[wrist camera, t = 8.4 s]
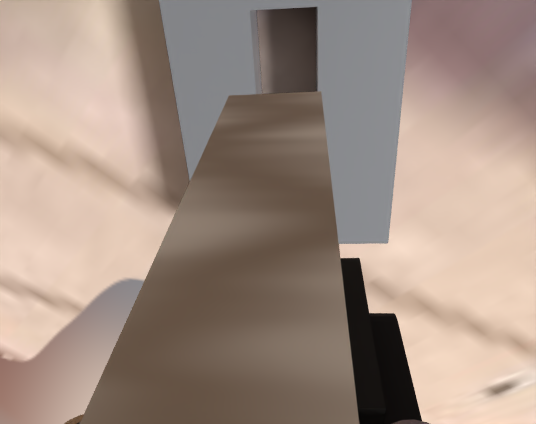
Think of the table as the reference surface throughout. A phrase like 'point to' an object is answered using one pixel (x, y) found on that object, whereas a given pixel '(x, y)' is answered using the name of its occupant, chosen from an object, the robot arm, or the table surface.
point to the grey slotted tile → (327, 81)
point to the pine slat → (242, 286)
